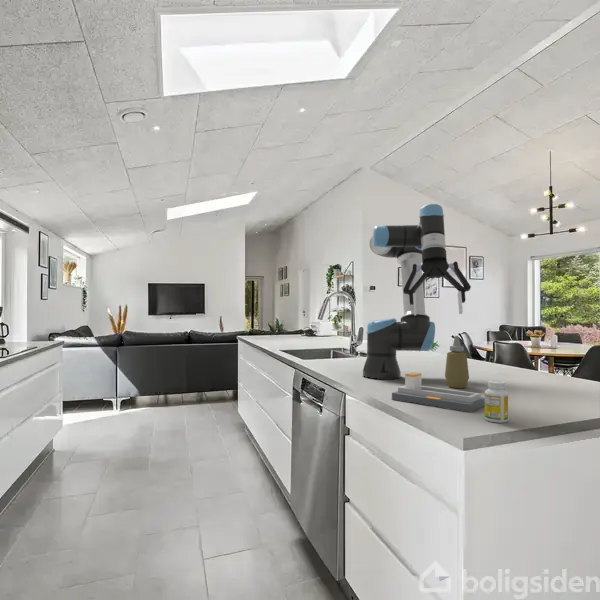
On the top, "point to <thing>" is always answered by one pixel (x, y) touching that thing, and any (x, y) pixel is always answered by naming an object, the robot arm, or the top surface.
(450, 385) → the squeeze bottle
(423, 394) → the console board
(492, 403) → the supplement bottle
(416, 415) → the top surface
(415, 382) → the fader tab
